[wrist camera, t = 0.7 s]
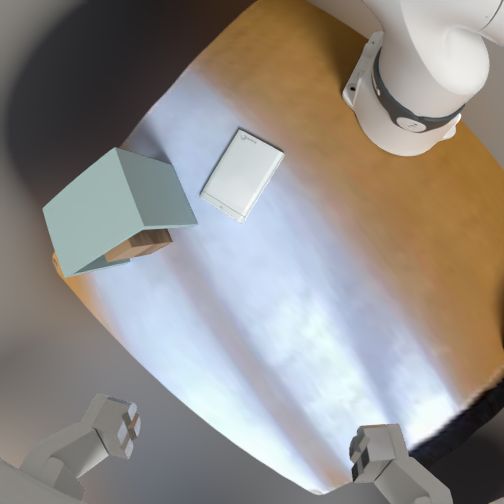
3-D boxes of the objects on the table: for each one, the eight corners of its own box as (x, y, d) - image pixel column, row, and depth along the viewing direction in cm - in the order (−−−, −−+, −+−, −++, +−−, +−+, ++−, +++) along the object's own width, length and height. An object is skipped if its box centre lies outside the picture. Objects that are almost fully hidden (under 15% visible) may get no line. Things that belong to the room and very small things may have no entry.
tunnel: (198, 224, 50) (144, 226, 35) (126, 263, 54) (64, 277, 39) (172, 165, 50) (114, 147, 35) (105, 209, 54) (42, 208, 39)
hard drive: (238, 128, 46) (198, 196, 49) (284, 153, 45) (241, 224, 48) (241, 131, 48) (202, 197, 50) (285, 155, 47) (243, 224, 49)
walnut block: (172, 241, 52) (131, 247, 40) (150, 253, 53) (107, 262, 41) (161, 214, 52) (118, 214, 40) (139, 227, 53) (95, 230, 41)
